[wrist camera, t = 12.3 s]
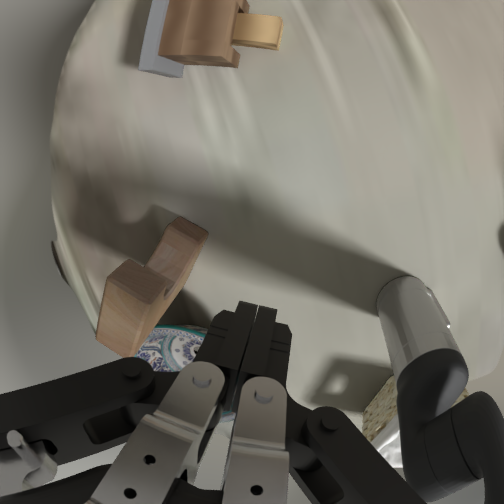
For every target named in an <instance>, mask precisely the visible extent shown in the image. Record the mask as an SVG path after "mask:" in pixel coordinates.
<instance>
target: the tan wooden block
mask: <svg viewBox="0 0 504 504" xmlns="http://www.w3.org/2000/svg"><path fill="white" fill-rule="evenodd" d="M283 26H284V25H283V22H282V19H281V17H277V16H269V15H259V14H247V13H238V14H237V19H236V24H235V29H234V34H233V40H232V45H236V46H246V47H256V48H264V49H271V50H278V51H279V47H280V42H281V36H282V31H283Z"/></svg>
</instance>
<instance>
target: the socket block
mask: <svg viewBox="0 0 504 504" xmlns="http://www.w3.org/2000/svg"><path fill="white" fill-rule="evenodd" d="M248 11H249V4H248V2H247V1H246V0H169V4H168V8H167V12H166V17H165V21H164V26H163V30H162V35H161V40H160V45H159V51H158V55H159V56H161V57H164V58H167V59H170V60H172V61H175V62H178V63H180V64H183V65H206V66H222V67H234V68H238V64H239V58H240V54H239V53H238V52H237V51H236V50H234V49H233V48H232V47H231V45H232V40H233V34H234V29H235V24H236V19H237V14H238V13H247V14H248Z"/></svg>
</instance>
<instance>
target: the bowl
mask: <svg viewBox="0 0 504 504" xmlns="http://www.w3.org/2000/svg"><path fill="white" fill-rule="evenodd" d="M207 331H208V329H206V328H203V327H199V326H195V325H156V326H155V327H154V328H153V330H152V331H151V333H150V334H149V336H148V337H147V339H146V340H145V341H144V343H143V344H142V346H141V347H140V349H139V350H138V352H137V353H136V355H135V356H134V357H138V358H141V359H144V360H146V361H147V362H148V363H150V365H151V366H152V368H153V370H154V371H162V372H176V371H180V370H182V369H183V367H185V366H186V365H187V364H189V363H192V362H193V360H194V358H195V356H196V354H195V352H194V347H196V346H201V344H202V342H203V339H204V337H205V335H206V334H207ZM235 393H236V391H235ZM234 397H235V395H234ZM233 402H234V398H233V401H232V405H231V408H230V411H226V410H223V412H222V416H221V419H220V421H219V423H220V422H228V421H233V420H234V419H235V415H236V413H234V412H231V411H232V407H233Z"/></svg>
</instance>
